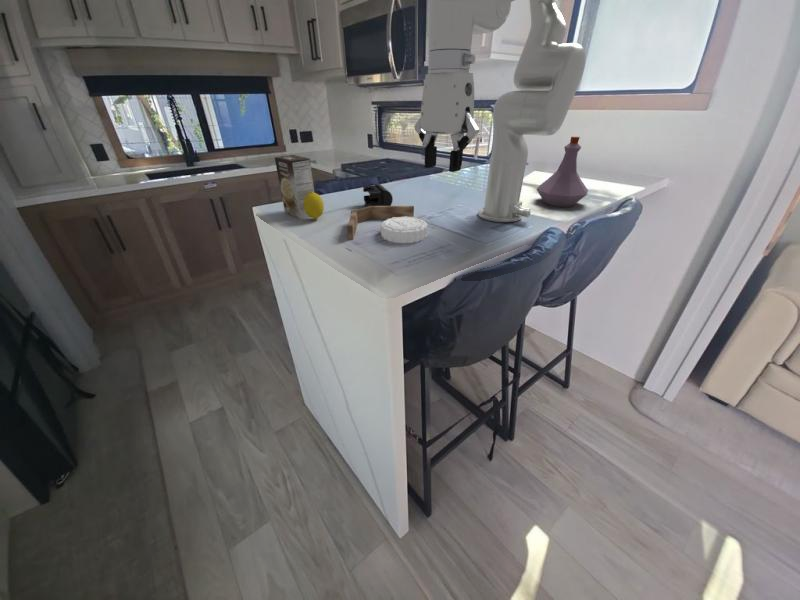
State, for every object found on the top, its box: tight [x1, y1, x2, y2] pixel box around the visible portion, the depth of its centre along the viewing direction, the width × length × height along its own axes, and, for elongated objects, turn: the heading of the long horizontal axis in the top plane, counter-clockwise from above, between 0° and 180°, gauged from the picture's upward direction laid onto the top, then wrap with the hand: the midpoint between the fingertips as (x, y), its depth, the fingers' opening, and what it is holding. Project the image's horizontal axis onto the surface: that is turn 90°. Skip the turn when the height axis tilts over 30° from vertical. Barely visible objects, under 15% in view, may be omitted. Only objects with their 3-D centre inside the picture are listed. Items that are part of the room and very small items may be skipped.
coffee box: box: [274, 154, 315, 220], centre depth 96 cm, size 9×6×16 cm
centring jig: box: [347, 205, 415, 240], centre depth 91 cm, size 10×24×4 cm, turn 136°
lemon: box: [304, 191, 325, 220], centre depth 93 cm, size 6×6×8 cm
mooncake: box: [380, 216, 429, 244], centre depth 84 cm, size 12×12×4 cm
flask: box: [536, 136, 589, 208], centre depth 105 cm, size 16×16×20 cm
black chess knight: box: [362, 182, 394, 207], centre depth 104 cm, size 10×7×7 cm
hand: (442, 168), depth 69 cm, fingers open, 5 cm apart
